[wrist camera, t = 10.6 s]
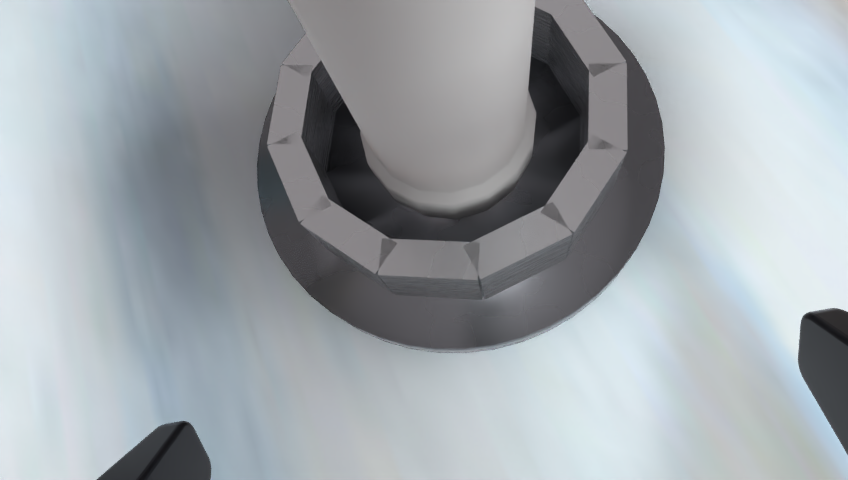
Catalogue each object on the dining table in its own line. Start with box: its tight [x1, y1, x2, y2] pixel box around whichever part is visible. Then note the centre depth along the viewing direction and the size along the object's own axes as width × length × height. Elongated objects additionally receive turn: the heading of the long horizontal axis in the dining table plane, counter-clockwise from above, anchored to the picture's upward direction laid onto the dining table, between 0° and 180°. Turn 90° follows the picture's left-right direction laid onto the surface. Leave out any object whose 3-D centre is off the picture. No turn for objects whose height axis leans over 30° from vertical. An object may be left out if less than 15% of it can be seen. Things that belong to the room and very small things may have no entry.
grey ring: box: [257, 0, 665, 353], centre depth 19 cm, size 13×13×4 cm
